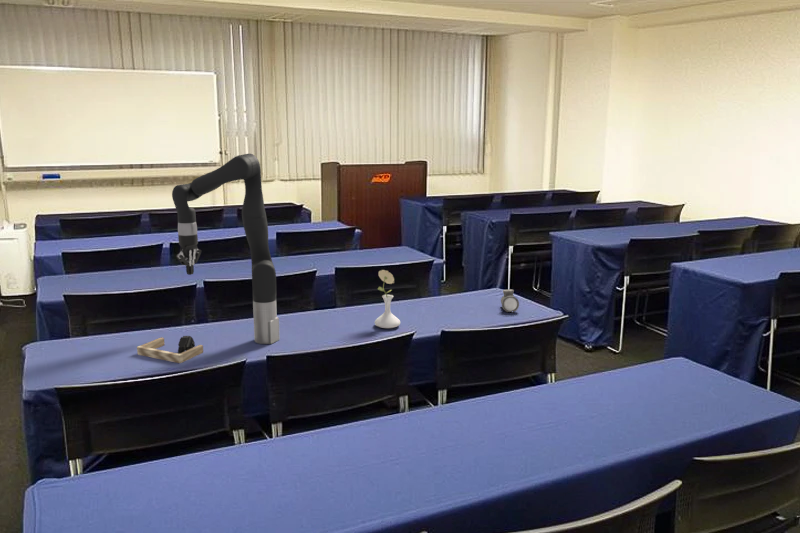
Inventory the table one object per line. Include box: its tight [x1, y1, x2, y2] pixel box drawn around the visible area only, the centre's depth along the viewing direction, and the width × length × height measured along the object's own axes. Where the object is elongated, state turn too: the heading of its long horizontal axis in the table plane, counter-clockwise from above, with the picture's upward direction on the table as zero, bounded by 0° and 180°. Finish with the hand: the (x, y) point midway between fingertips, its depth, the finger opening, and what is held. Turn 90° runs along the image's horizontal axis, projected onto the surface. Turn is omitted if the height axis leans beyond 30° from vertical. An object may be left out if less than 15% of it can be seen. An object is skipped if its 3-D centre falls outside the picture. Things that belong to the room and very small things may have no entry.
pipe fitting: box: [500, 288, 520, 313], centre depth 309 cm, size 12×8×10 cm
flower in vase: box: [374, 269, 401, 329], centre depth 280 cm, size 13×11×25 cm
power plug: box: [177, 335, 196, 354], centre depth 246 cm, size 6×8×12 cm
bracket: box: [136, 337, 204, 364], centre depth 246 cm, size 21×12×3 cm, turn 66°
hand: (190, 274), depth 267 cm, fingers closed
